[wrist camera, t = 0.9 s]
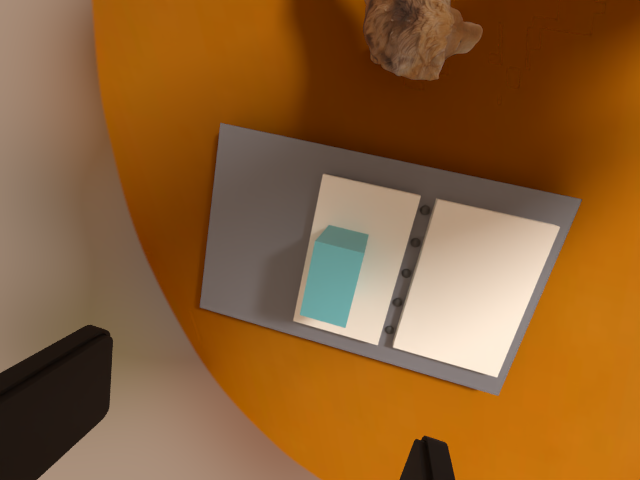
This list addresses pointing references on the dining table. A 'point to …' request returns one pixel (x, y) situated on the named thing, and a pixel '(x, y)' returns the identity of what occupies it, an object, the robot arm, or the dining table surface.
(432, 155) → the dining table surface
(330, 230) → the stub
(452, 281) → the board
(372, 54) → the lion figurine
